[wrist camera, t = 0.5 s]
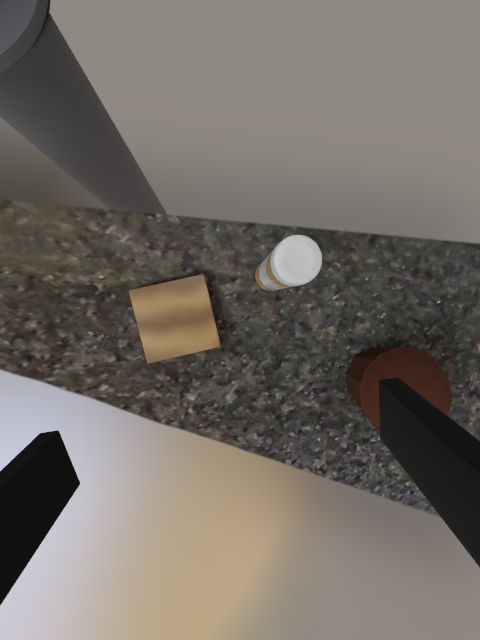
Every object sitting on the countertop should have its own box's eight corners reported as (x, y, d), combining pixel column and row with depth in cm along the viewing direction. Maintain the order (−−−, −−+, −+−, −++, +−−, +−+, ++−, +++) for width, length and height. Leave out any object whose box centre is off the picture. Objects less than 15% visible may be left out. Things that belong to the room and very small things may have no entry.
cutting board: (132, 290, 36) (128, 290, 34) (204, 275, 36) (203, 273, 35) (150, 361, 36) (147, 364, 35) (220, 345, 37) (220, 346, 35)
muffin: (423, 363, 40) (492, 383, 30) (387, 427, 40) (444, 468, 30) (358, 325, 38) (407, 333, 28) (321, 391, 39) (357, 422, 29)
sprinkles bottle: (291, 268, 37) (332, 248, 24) (277, 297, 37) (310, 293, 24) (263, 253, 37) (287, 224, 23) (248, 282, 37) (265, 270, 23)
